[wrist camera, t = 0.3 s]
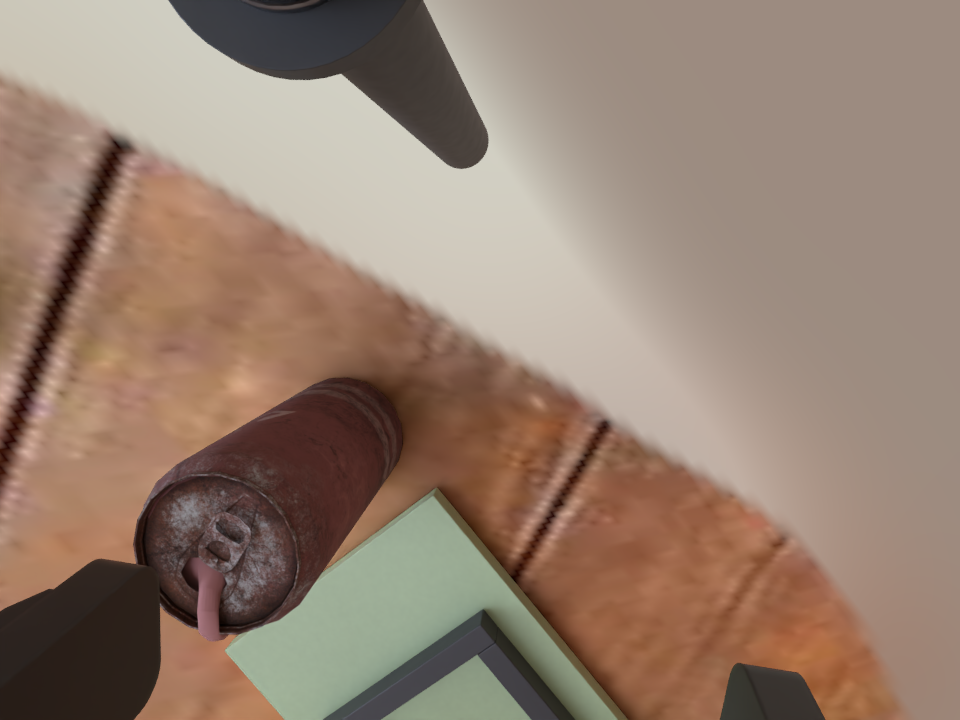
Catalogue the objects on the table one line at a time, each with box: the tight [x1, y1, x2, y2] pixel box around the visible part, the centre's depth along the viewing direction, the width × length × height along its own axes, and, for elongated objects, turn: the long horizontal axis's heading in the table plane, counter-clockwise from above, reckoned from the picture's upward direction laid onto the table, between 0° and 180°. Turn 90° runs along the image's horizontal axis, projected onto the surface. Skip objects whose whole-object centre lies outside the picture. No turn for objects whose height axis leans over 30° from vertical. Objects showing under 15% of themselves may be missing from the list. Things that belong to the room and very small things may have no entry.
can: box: [133, 378, 403, 641], centre depth 27 cm, size 6×6×14 cm
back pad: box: [225, 488, 628, 720], centre depth 35 cm, size 18×15×3 cm
